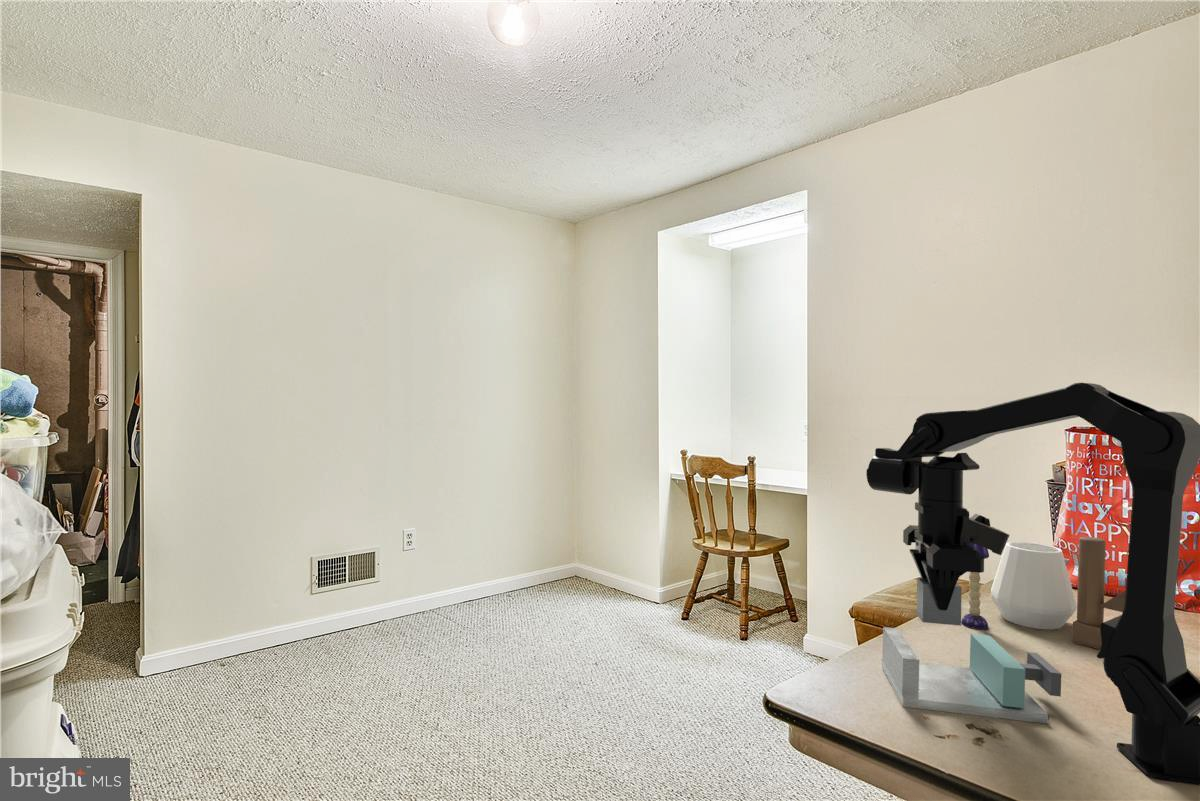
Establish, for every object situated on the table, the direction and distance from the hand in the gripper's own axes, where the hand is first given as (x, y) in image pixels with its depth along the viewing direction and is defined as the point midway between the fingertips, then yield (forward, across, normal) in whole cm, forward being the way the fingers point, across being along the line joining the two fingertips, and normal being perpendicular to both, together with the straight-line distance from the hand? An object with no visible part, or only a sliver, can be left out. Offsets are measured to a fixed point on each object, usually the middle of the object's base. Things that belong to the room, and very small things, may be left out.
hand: (938, 605), depth 93 cm
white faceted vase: (+11, +34, -24) cm, 43 cm away
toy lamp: (+11, +27, -13) cm, 32 cm away
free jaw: (+9, -4, -9) cm, 13 cm away
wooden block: (+11, +21, -32) cm, 40 cm away
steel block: (+2, 0, 0) cm, 2 cm away
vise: (+11, -4, -1) cm, 12 cm away
